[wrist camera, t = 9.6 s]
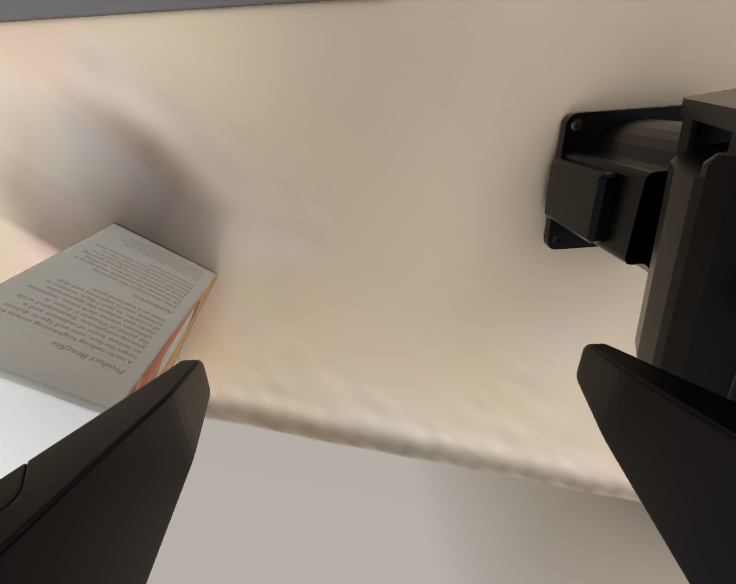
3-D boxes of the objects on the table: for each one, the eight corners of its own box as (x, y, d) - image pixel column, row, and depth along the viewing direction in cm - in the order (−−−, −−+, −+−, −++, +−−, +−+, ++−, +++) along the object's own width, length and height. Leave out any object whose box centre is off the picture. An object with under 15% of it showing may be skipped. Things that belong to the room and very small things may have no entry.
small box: (169, 375, 24) (51, 559, 14) (72, 335, 22) (-130, 513, 13) (221, 271, 21) (117, 419, 11) (114, 218, 19) (-109, 337, 10)
